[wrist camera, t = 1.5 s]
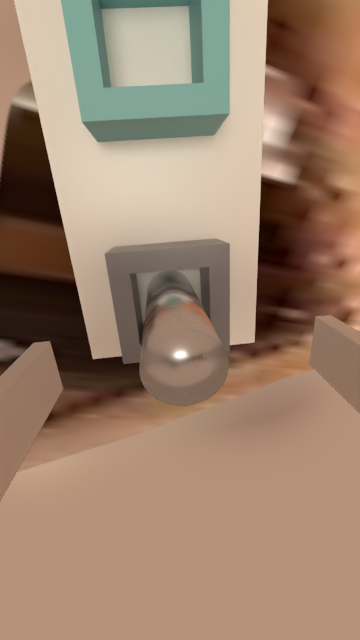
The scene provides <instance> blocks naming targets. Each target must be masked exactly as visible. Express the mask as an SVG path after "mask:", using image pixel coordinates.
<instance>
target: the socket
mask: <svg viewBox="0 0 360 640" xmlns="http://www.w3.org/2000/svg"><path fill="white" fill-rule="evenodd" d="M61 5H62V10H63V16H64V22H65V28H66V34H67V39H68V45H69V51H70V57H71V63H72V69H73V74H74V80H75V86H76V92H77V98H78V103H79V109H80V115H81V121H82V123H83V124H84V125H85V127H86V128H87V129H88V130H89V132H90V133H91V134H92V136H93V137H94V138H95V139H96V141H97V142H110V141H126V140H143V139H160V138H176V137H193V136H210V135H215V133H216V132H217V131H218V129H219V128H220V126H221V125H222V124H223V122H224V121H225V120H226V118H227V117H228V115H229V114H230V0H61ZM173 6H189V24H190V47H191V71H192V83H188V84H168V85H147V86H127V87H111V81H110V73H109V66H108V58H107V51H106V43H105V36H104V28H103V21H102V13H101V9H114V8H143V7H173Z"/></svg>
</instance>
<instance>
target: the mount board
mask: <svg viewBox="0 0 360 640" xmlns="http://www.w3.org/2000/svg"><path fill="white" fill-rule="evenodd" d="M14 2H15V7H16V11H17V16H18V20H19V25H20V30H21V34H22V39H23V43H24V47H25V52H26V57H27V61H28V66H29V70H30V75H31V80H32V84H33V89H34V93H35V98H36V102H37V107H38V111H39V116H40V121H41V125H42V130H43V134H44V139H45V143H46V148H47V152H48V157H49V161H50V166H51V171H52V175H53V180H54V184H55V189H56V193H57V198H58V202H59V207H60V212H61V216H62V221H63V225H64V230H65V234H66V239H67V243H68V248H69V252H70V257H71V262H72V266H73V271H74V275H75V280H76V284H77V289H78V293H79V298H80V302H81V307H82V312H83V316H84V321H85V325H86V330H87V334H88V339H89V343H90V348H91V353H92V357H93V359H99V358H108V357H118V356H122V359H123V364H128V363H138V362H140V356H141V347H142V338H143V328H144V319H145V310H146V301H147V291H148V285H149V283H150V281H151V279H152V278H153V277H154V276H155V275H156V274H157V273H159V272H161V271H169V270H176V271H179V272H181V273H183V274H184V275H185V276H186V277H187V278H188V279H189V281H190V283H191V285H192V287H193V289H194V291H195V293H196V295H197V297H198V298H199V300H200V302H201V304H202V306H203V308H204V310H205V312H206V314H207V316H208V318H209V320H210V322H211V323H212V325H213V327H214V329H215V331H216V333H217V335H218V337H219V339H220V341H221V343H222V345H223V347H224V349H225V351H226V353H230V345H235V344H245V343H254V342H255V318H256V292H257V266H258V240H259V214H260V188H261V162H262V136H263V110H264V84H265V58H266V32H267V6H268V0H230V114H229V115H228V117H227V118H226V120H225V121H224V122H223V124H222V125H221V126H220V128H219V129H218V131H217V132H216V133H215V135H210V136H193V137H176V138H160V139H143V140H126V141H110V142H97V141H96V139H95V138H94V137H93V136H92V134H91V133H90V132H89V130H88V129H87V128H86V127H85V125H84V124H83V123H82V121H81V115H80V109H79V103H78V98H77V92H76V86H75V80H74V74H73V69H72V63H71V57H70V51H69V45H68V39H67V34H66V28H65V22H64V16H63V10H62V5H61V0H14ZM101 13H102V21H103V28H104V36H105V43H106V51H107V58H108V66H109V73H110V81H111V87H127V86H147V85H168V84H188V83H192V71H191V47H190V24H189V6H173V7H143V8H114V9H101Z"/></svg>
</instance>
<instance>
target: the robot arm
mask: <svg viewBox="0 0 360 640" xmlns="http://www.w3.org/2000/svg"><path fill="white" fill-rule="evenodd" d="M310 365H311V366H312V367H313V368H314V369H315V370H316V371H317V372H318V373H319V374H320V375H321V376H322V377H323V378H324V379H325V380H326V381H327V382H328V383H329V384H330V385H331V386H332V387H333V388H334V389H335V390H336V391H337V392H338V393H339V394H340V395H341V396H342V397H343V398H344V399H345V400H346V401H347V402H348V403H350V405H352V406H353V407H354V408H355V409H356V410H357V411H358V412H359V413H360V332H359V331H357V330H355V329H353V328H352V327H350V326H348V325H347V324H345V323H343V322H341V321H340V320H338V319H336V318H334V317H333V316H331V315H326V316H315V324H314V332H313V340H312V348H311V356H310ZM62 390H63V386H62V382H61V379H60V375H59V372H58V368H57V365H56V361H55V357H54V354H53V350H52V347H51V343H50V341H47V342H36V343H33V344H32V345H31V346H30V347H29V348H28V349H27V350H26V351H25V352H24V353H23V354H22V355H21V356H20V357H19V358H18V359H17V360H16V361H15V362H14V363H13V364H12V365H11V366H10V367H9V368H8V369H7V370H6V371H5V372H4V373H3V374H2V375H1V376H0V501H1V499H2V497H3V496H4V494H5V492H6V490H7V488H8V487H9V485H10V483H11V481H12V480H13V478H14V476H15V474H16V472H17V471H18V469H19V467H20V465H21V463H22V462H23V460H24V458H25V456H26V455H27V453H28V451H29V449H30V447H31V446H32V444H33V442H34V440H35V438H36V437H37V435H38V433H39V431H40V430H41V428H42V426H43V424H44V422H45V421H46V419H47V417H48V415H49V413H50V412H51V410H52V408H53V406H54V405H55V403H56V401H57V399H58V397H59V396H60V394H61V392H62Z"/></svg>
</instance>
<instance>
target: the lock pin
mask: <svg viewBox="0 0 360 640" xmlns="http://www.w3.org/2000/svg"><path fill="white" fill-rule="evenodd" d="M228 368H229V362H228V356H227V353H226V351H225V349H224V347H223V345H222V343H221V341H220V339H219V337H218V335H217V333H216V331H215V329H214V327H213V325H212V323H211V322H210V320H209V318H208V316H207V314H206V312H205V310H204V308H203V306H202V304H201V302H200V300H199V298H198V297H197V295H196V293H195V291H194V289H193V287H192V285H191V283H190V281H189V279H188V278H187V277H186V276H185V275H184V274H183V273H181V272H179V271H176V270H169V271H161V272H159V273H157V274H156V275H155V276H154V277H153V278H152V279H151V281H150V283H149V285H148V291H147V301H146V310H145V319H144V328H143V338H142V347H141V356H140V366H139V373H140V378H141V381H142V384H143V385H144V387H145V389H146V390H147V391H148V392H149V393H150V394H151V395H152V396H153V397H154V398H156V399H157V400H159V401H161V402H163V403H166V404H170V405H175V406H188V405H193V404H197V403H200V402H202V401H204V400H206V399H208V398H210V397H211V396H212V395H214V394H215V393H216V392H217V391H218V390H219V389H220V387H221V386H222V385H223V383H224V381H225V379H226V377H227V374H228Z"/></svg>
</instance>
